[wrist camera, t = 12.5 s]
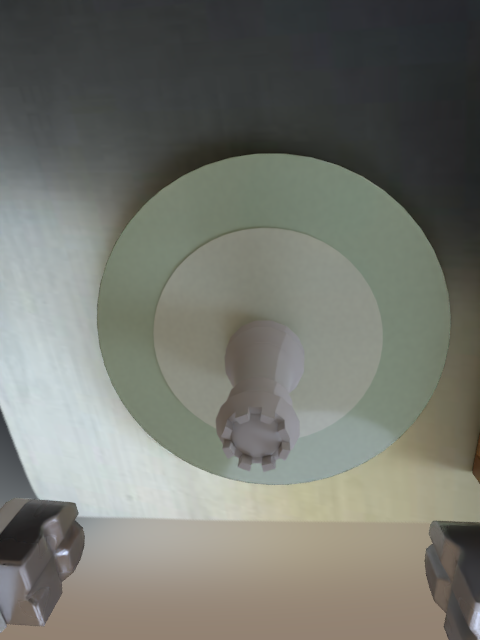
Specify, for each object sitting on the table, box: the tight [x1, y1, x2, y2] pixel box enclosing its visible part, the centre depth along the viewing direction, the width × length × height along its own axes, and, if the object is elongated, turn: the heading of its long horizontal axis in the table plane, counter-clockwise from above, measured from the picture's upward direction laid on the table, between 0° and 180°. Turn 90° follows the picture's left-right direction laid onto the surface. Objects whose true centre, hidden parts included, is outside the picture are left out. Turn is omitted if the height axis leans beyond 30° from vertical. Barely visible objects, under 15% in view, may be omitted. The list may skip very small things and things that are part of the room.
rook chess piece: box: [216, 320, 304, 472], centre depth 16 cm, size 4×4×8 cm
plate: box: [97, 153, 451, 485], centre depth 21 cm, size 20×20×1 cm
